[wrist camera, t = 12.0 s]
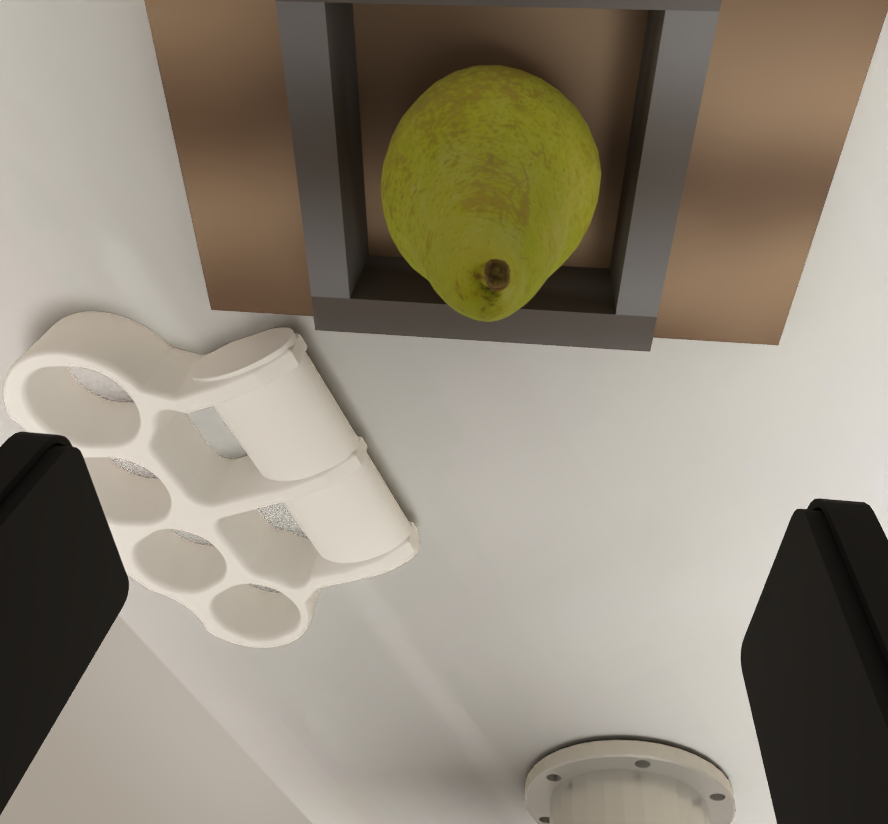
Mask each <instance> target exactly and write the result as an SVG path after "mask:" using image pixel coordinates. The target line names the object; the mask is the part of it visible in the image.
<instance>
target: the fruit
mask: <svg viewBox="0 0 888 824" xmlns="http://www.w3.org/2000/svg"><path fill="white" fill-rule="evenodd" d="M600 180H601V167H600V160H599V153H598V149H597V147H596V144H595V142H594V139H593V137H592V134H591V132H590V129H589V126H588V124H587V123H586V121H585V120H584V118H583V117H582V115H581V114H580V112H579V111H578V109H577V108H576V107H575V106H574V105H573V104H572V103H571V102H570V101H569V100H568V99H567V98H566V97H565V96H564V95H563V94H562V93H561V92H560V91H559V90H558V89H556V88H555V87H553V86H552V85H550V84H549V83H547V82H546V81H544V80H543V79H541V78H539V77H537V76H534V75H532V74H529V73H527V72H525V71H523V70H520V69H515V68H511V67H506V66H502V65H477V66H473V67H469V68H465V69H462V70H458V71H455V72H453V73H451V74H449V75H447V76H446V77H444V78H442V79H440V80H438V81H436V82H435V83H434V84H433V85H432V86H431V87H430V88H428V89H427V90H426V91H425V92H424V93H423V94H422V95H421V96H420V97H419V98H418V99H417V100H416V101H415V102H414V104H413V105H412V106H411V107H410V108H409V109H408V111H407V112H406V113H405V114H404V115H403V116H402V118H401V120H400V122H399V124H398V125H397V127H396V129H395V131H394V133H393V135H392V137H391V141H390V144H389V147H388V150H387V153H386V157H385V160H384V163H383V169H382V177H381V198H382V206H383V213H384V217H385V220H386V223H387V227H388V230H389V233H390V235H391V237H392V239H393V241H394V243H395V245H396V246H397V248H398V250H399V252H400V253H401V255H402V256H403V257H404V258H405V260H406V261H407V262H408V263H409V265H410V266H411V267H412V268H413V269H414V270H415V271H417V272H418V273H419V274H421V275H422V276H423V277H424V278H426V279H427V280H428V281H429V282H430V283H431V285H432V287H433V289H434V290H435V291H436V292H437V294H438V295H439V296H440V297H441V298H442V299H443V300H444V301H445V302H446V303H447V304H448V305H449V306H450V307H451V308H453V309H454V310H455V311H457V312H458V313H460V314H462V315H464V316H466V317H469V318H471V319H474V320H478V321H485V322H492V321H498V320H501V319H503V318H506V317H508V316H510V315H511V314H513V313H514V312H516V311H517V310H519V309H520V308H521V307H523V306H524V305H525V304H526V303H527V302H529V301H530V300H531V299H532V298H533V297H534V295H535V294H536V293H537V292H538V291H539V289H540V288H541V287H542V285H543V284H544V283H545V281H546V280H547V278H549V277H550V276H551V275H552V274H553V273H554V272H555V271H556V270H557V269H558V268H559V267H560V266H561V265H562V264H563V263H564V262H565V261H566V260H567V259H568V258H569V257H570V255H571V254H572V253H573V252H574V251H575V250H576V249H577V247H578V246H579V244H580V242H581V240H582V238H583V237H584V235H585V233H586V231H587V229H588V227H589V225H590V223H591V220H592V217H593V214H594V211H595V208H596V205H597V202H598V196H599V189H600Z"/></svg>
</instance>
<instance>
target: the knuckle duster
mask: <svg viewBox="0 0 888 824" xmlns="http://www.w3.org/2000/svg"><path fill="white" fill-rule="evenodd" d="M306 350H307V345H306V343H305V342H304V340H303V338H302V337H301V335H300V334H295V333H294V332H293V330H292V329H291V328H272V329H269V330H266V331H263V332H260V333H257V334H254V335H251V336H248V337H245V338H242V339H239V340H236V341H233V342H230V343H228V344H226V345H225V346H223V347H221V348H219V349H217V350H215V351H214V352H211V353H208V354H205V355H200V354H196V353H192V352H188V351H184V350H180V349H176V348H173V347H171V346H170V345H169V344H168V343H166V342H165V341H164V340H163V339H162V338H161V337H159V336H158V335H157V334H156V333H154V332H153V331H151V330H150V329H148V328H146V327H145V326H143V325H141V324H139V323H137V322H135V321H133V320H131V319H128V318H125V317H123V316H119V315H116V314H112V313H107V312H98V311H86V312H79V313H74V314H71V315H68V316H66V317H64V318H62V319H60V320H59V321H58V322H56V323H55V324H54V325H53V326H52V327H51V328H50V329H49V330H48V331H47V332H46V333H45V334H44V335H43V336H42V337H41V338H40V339H39V340H37V341H36V342H35V343H34V344H33V345H32V346H31V347H30V348H29V349H28V350H27V351H26V352H25V353H24V354H23V355H22V356H21V357H20V358H19V359H18V360H17V361H16V362H15V363H14V364H13V365H12V366H11V368H10V369H9V371H8V373H7V375H6V378H5V381H4V386H3V398H4V404H5V407H6V410H7V413H8V415H9V417H10V418H11V419H13V420H14V421H15V422H17V423H18V424H19V425H20V426H22V427H23V428H24V429H25V430H26V431H27V432H32V433H43V434H55V435H62V436H65V437H66V438H67V439H69V441H70V443H71V444H72V446H73V447H77V448H78V449H79V450H80V451H81V453H82V455H83V457H84V460H85V463H86V465H87V468H88V471H89V474H90V476H91V479H92V482H93V484H94V487H95V490H96V492H97V495H98V498H99V501H100V503H101V506H102V509H103V511H104V514H105V517H106V520H107V522H108V525H109V528H110V530H111V533H112V536H113V539H114V541H115V544H116V547H117V549H118V552H119V555H120V558H121V560H122V563H123V566H124V568H125V571H126V574H128V575H129V576H131V577H132V578H133V579H135V580H136V581H137V582H139V583H140V584H142V585H143V586H144V587H146V588H147V589H149V590H150V591H154V592H157V593H160V594H162V595H165V596H167V597H169V598H172V599H173V600H175V601H177V602H179V603H181V604H182V605H184V606H185V607H187V608H188V609H189V610H190V611H192V612H193V613H194V614H195V615H196V616H197V617H198V618H199V619H200V620H201V622H202V623H203V625H204V626H205V628H206V630H207V632H209V633H210V634H212V635H214V636H216V637H218V638H220V639H223V640H225V641H228V642H231V643H234V644H238V645H242V646H247V647H256V648H271V647H278V646H282V645H286V644H289V643H291V642H293V641H295V640H296V639H298V638H299V637H300V636H302V635H303V634H304V632H305V631H306V630H307V628H308V626H309V624H310V622H311V619H312V616H313V612H314V609H315V606H316V603H317V599H318V596H319V593H320V590H321V587H327V586H332V585H337V584H342V583H347V582H352V581H355V580H358V579H361V578H368V577H373V576H377V575H380V574H383V573H386V572H389V571H391V570H393V569H395V568H397V567H399V566H401V565H403V564H404V563H406V562H407V561H409V560H410V559H412V558H413V557H414V556H415V555H416V553H417V552H418V550H419V548H420V540H419V538H418V536H417V535H418V529H417V528H416V526H415V524H414V523H413V522H411V521H408V520H407V518H406V517H405V515H404V513H403V512H402V510H401V508H400V507H399V505H398V503H397V502H396V500H395V498H394V497H393V495H392V493H391V492H390V490H389V488H388V487H387V485H386V483H385V482H384V480H383V478H382V477H381V475H380V474H379V472H378V470H377V469H376V467H375V465H374V464H373V462H372V460H371V459H370V457H369V455H368V454H367V452H366V451H367V447H368V446H367V445H366V443H365V441H364V440H363V438H362V437H360V436H357V435H356V434H355V432H354V431H353V429H352V427H351V426H350V424H349V422H348V421H347V419H346V417H345V416H344V414H343V412H342V411H341V409H340V407H339V406H338V404H337V402H336V401H335V399H334V397H333V396H332V394H331V393H330V391H329V389H328V388H327V386H326V384H325V383H324V381H323V379H322V378H321V376H320V374H319V373H318V371H317V369H316V368H315V366H314V365H313V363H312V361H311V360H310V358H309V356H308V355H307V353H306ZM67 366H77V367H84V368H88V369H91V370H94V371H97V372H99V373H101V374H103V375H105V376H107V377H109V378H110V379H112V380H113V381H115V382H116V383H117V384H119V385H120V386H121V387H122V388H123V389H124V390H125V391H126V392H127V393H128V394H129V395H130V397H131V398H132V399H133V401H134V402H115V401H110V400H107V399H104V398H101V397H99V396H97V395H95V394H93V393H92V392H90V391H89V390H87V389H86V388H84V387H83V386H82V385H81V384H80V383H79V382H78V381H77V380H76V379H75V378H74V377H73V375H72V374H71V372H70V371H69V369H68V367H67ZM211 406H213V408H214V409H215V410H216V412H217V413H218V414H219V416H220V417H221V419H222V420H223V421H224V423H225V424H226V426H227V427H228V428H229V430H230V431H231V432H232V434H233V435H234V437H235V438H236V439H237V441H238V442H239V443H240V445H241V446H242V448H243V449H244V450H245V452H246V453H247V455H248V456H245V457H241V458H237V459H228V458H224V457H222V456H220V455H218V454H217V453H215V452H214V451H213V450H212V448H211V447H210V446H209V444H208V443H207V442H206V441H205V439H204V438H203V437H202V435H201V434H200V433H199V431H198V430H197V429H196V427H195V426H194V425H193V423H192V422H191V421H190V419H189V418H188V417H187V415H186V414H185V413H187V414H188V413H191V412H194V411H198V410H201V409H204V408H208V407H211ZM109 457H114V458H120V459H125V460H128V461H131V462H134V463H136V464H138V465H140V466H142V467H144V468H146V469H147V470H149V471H150V472H152V473H153V474H154V475H155V476H157V477H158V478H146V477H141V476H137V475H134V474H132V473H129V472H127V471H125V470H124V469H122V468H120V467H119V466H118V465H116V464H115V463H114V462H113V461H112V460H111V459H110V458H109ZM279 503H283V504H284V505H285V507H286V508H287V510H288V511H289V512H290V514H291V515H292V516H293V518H294V519H295V521H296V522H297V523H298V525H299V526H300V527H301V529H302V530H303V532H304V533H305V534H306V536H307V537H308V538H309V539H305V538H302V537H300V536H298V535H296V534H294V533H291V532H288V531H285V530H281V529H277V528H274V527H272V526H271V525H269V524H268V523H267V521H266V520H265V519H264V517H263V516H262V515H261V513H260V512H259V511H258V509H259V508H262V507H266V506H270V505H274V504H279ZM171 529H177V530H182V531H186V532H190V533H193V534H195V535H198V536H200V537H202V538H203V539H205V540H207V541H208V542H210V543H211V544H212V545H201V544H197V543H193V542H190V541H188V540H186V539H184V538H182V537H180V536H179V535H177V534H176V533H174V532H173V531H172V530H171ZM250 584H257V585H262V586H266V587H269V588H272V589H275V590H277V591H279V592H269V591H264V590H261V589H258V588H256V587H254V586H252V585H250Z"/></svg>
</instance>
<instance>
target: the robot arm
mask: <svg viewBox="0 0 888 824" xmlns="http://www.w3.org/2000/svg"><path fill="white" fill-rule="evenodd" d="M128 590H129V581H128V576H127V574H126V571H125V568H124V566H123V563H122V560H121V558H120V555H119V552H118V549H117V547H116V544H115V541H114V539H113V536H112V533H111V530H110V528H109V525H108V522H107V520H106V517H105V514H104V511H103V509H102V506H101V503H100V501H99V498H98V495H97V492H96V490H95V487H94V484H93V482H92V479H91V476H90V474H89V471H88V468H87V465H86V463H85V460H84V457H83V455H82V453H81V451H80V450H79V449H78V448H77V447H73V446H72V444H71V443H70V441H69V439H67V438H66V437H65V436H62V435H55V434H43V433H32V432H19V433H15V434H14V435H12V436H11V437H10V438H8V439H7V441H6V442H5V443H4V444H3V445H2V446H1V447H0V815H1V813H2V811H3V810H4V808H5V806H6V804H7V803H8V801H9V799H10V798H11V796H12V794H13V793H14V791H15V789H16V788H17V786H18V784H19V782H20V781H21V779H22V777H23V776H24V774H25V772H26V771H27V769H28V767H29V765H30V763H31V762H32V760H33V758H34V757H35V755H36V754H37V752H38V750H39V748H40V747H41V745H42V743H43V741H44V740H45V738H46V737H47V735H48V733H49V731H50V730H51V728H52V726H53V725H54V723H55V721H56V719H57V717H58V716H59V714H60V713H61V711H62V709H63V708H64V706H65V704H66V703H67V701H68V699H69V697H70V696H71V694H72V692H73V691H74V689H75V687H76V685H77V684H78V682H79V680H80V678H81V677H82V675H83V674H84V672H85V670H86V668H87V667H88V665H89V663H90V662H91V660H92V658H93V657H94V655H95V653H96V651H97V650H98V648H99V646H100V645H101V643H102V641H103V639H104V638H105V636H106V634H107V633H108V631H109V629H110V627H111V626H112V624H113V623H114V621H115V619H116V617H117V616H118V614H119V612H120V611H121V609H122V607H123V605H124V603H125V601H126V598H127V595H128ZM741 667H742V673H743V677H744V681H745V686H746V690H747V694H748V699H749V703H750V707H751V712H752V716H753V720H754V725H755V729H756V733H757V738H758V742H759V746H760V751H761V755H762V759H763V764H764V768H765V772H766V777H767V781H768V786H769V790H770V794H771V799H772V803H773V807H774V812H775V816H776V820H777V824H888V539H887V537H886V535H885V533H884V531H883V529H882V527H881V525H880V523H879V521H878V519H877V517H876V515H875V513H874V511H873V510H872V508H871V507H870V505H868V504H866V503H865V502H853V501H841V500H829V499H814V500H813V501H812V502H811V503H810V505H809V506H808V508H807V509H797V510H796V511H795V512H794V513H793V515H792V517H791V520H790V522H789V525H788V527H787V530H786V532H785V535H784V537H783V540H782V543H781V545H780V548H779V550H778V553H777V555H776V558H775V560H774V563H773V566H772V568H771V571H770V573H769V576H768V578H767V581H766V583H765V586H764V588H763V591H762V594H761V596H760V599H759V601H758V604H757V606H756V609H755V611H754V614H753V617H752V619H751V622H750V624H749V627H748V629H747V632H746V634H745V637H744V639H743V643H742V648H741ZM525 803H526V807H527V810H528V811H529V813H530V814H531V816H532V818H533V819H534V820H535V821H537V822H538V823H539V824H730V823H731V822H732V821H733V818H734V815H735V811H736V809H735V801H734V795H733V791H732V787H731V784H730V782H729V781H728V779H727V778H726V777H725V775H724V774H723V773H722V772H721V771H720V770H719V769H717V768H716V767H715V766H714V765H712V764H711V763H710V762H708V761H706V760H704V759H702V758H701V757H699V756H697V755H695V754H692V753H690V752H687V751H684V750H682V749H679V748H676V747H672V746H668V745H664V744H659V743H653V742H646V741H638V740H602V741H593V742H587V743H581V744H576V745H573V746H570V747H566V748H563V749H560V750H558V751H556V752H554V753H552V754H550V755H547V756H546V757H545V758H543V759H542V760H541V761H539V762H538V763H537V764H535V765H534V767H533V768H532V769H531V770H530V772H529V773H528V776H527V779H526V781H525Z"/></svg>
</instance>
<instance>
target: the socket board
mask: <svg viewBox="0 0 888 824" xmlns="http://www.w3.org/2000/svg"><path fill="white" fill-rule="evenodd" d="M145 5H146V10H147V14H148V19H149V24H150V28H151V33H152V37H153V42H154V47H155V51H156V56H157V60H158V65H159V70H160V74H161V79H162V84H163V88H164V93H165V97H166V102H167V107H168V111H169V116H170V121H171V125H172V130H173V134H174V139H175V144H176V148H177V153H178V158H179V162H180V167H181V171H182V176H183V181H184V185H185V190H186V195H187V199H188V204H189V208H190V213H191V218H192V222H193V227H194V232H195V236H196V241H197V245H198V250H199V255H200V259H201V264H202V269H203V273H204V278H205V282H206V287H207V292H208V296H209V301H210V306H211V310H224V311H240V312H256V313H272V314H288V315H304V316H314V323H315V330H324V331H339V332H355V333H370V334H386V335H401V336H417V337H432V338H448V339H463V340H479V341H495V342H510V343H526V344H541V345H557V346H572V347H588V348H603V349H619V350H635V351H650V349H651V344H652V339H653V337H655V338H671V339H687V340H703V341H719V342H735V343H751V344H767V345H778V344H779V341H780V338H781V335H782V332H783V329H784V326H785V323H786V320H787V317H788V314H789V310H790V307H791V304H792V301H793V298H794V295H795V292H796V289H797V286H798V283H799V280H800V277H801V274H802V271H803V268H804V265H805V262H806V259H807V255H808V252H809V249H810V246H811V243H812V240H813V237H814V234H815V231H816V228H817V225H818V222H819V219H820V216H821V213H822V210H823V207H824V204H825V200H826V197H827V194H828V191H829V188H830V185H831V182H832V179H833V176H834V173H835V170H836V167H837V164H838V161H839V158H840V155H841V152H842V149H843V145H844V142H845V139H846V136H847V133H848V130H849V127H850V124H851V121H852V118H853V115H854V112H855V109H856V106H857V103H858V100H859V97H860V94H861V90H862V87H863V84H864V81H865V78H866V75H867V72H868V69H869V66H870V63H871V60H872V57H873V54H874V51H875V48H876V45H877V42H878V39H879V35H880V32H881V29H882V26H883V23H884V20H885V17H886V14H887V11H888V0H145ZM477 65H502V66H506V67H511V68H515V69H520V70H523V71H525V72H527V73H529V74H532V75H534V76H537V77H539V78H541V79H543V80H544V81H546V82H547V83H549V84H550V85H552V86H553V87H555V88H556V89H558V90H559V91H560V92H561V93H562V94H563V95H564V96H565V97H566V98H567V99H568V100H569V101H570V102H571V103H572V104H573V105H574V106H575V107H576V108H577V109H578V111H579V112H580V114H581V115H582V117H583V118H584V120H585V121H586V123H587V124H588V126H589V129H590V132H591V134H592V137H593V139H594V142H595V144H596V147H597V149H598V153H599V160H600V167H601V180H600V189H599V196H598V202H597V205H596V208H595V211H594V214H593V217H592V220H591V223H590V225H589V227H588V229H587V231H586V233H585V235H584V237H583V238H582V240H581V242H580V244H579V246H578V247H577V249H576V250H575V251H574V252H573V253H572V254H571V255H570V257H569V258H568V259H567V260H566V261H565V262H564V263H563V264H562V265H561V266H560V267H559V268H558V269H557V270H556V271H555V272H554V273H553V274H552V275H551V276H550V277H549V278H547V280H546V281H545V283H544V284H543V285H542V287H541V288H540V289H539V291H538V292H537V293H536V294H535V295H534V297H533V298H532V299H531V300H530V301H529V302H527V303H526V304H525V305H524V306H523V307H521V308H520V309H519V310H517V311H516V312H514V313H513V314H511V315H510V316H508V317H506V318H503V319H501V320H498V321H492V322H485V321H478V320H474V319H471V318H469V317H466V316H464V315H462V314H460V313H458V312H457V311H455V310H454V309H453V308H451V307H450V306H449V305H448V304H447V303H446V302H445V301H444V300H443V299H442V298H441V297H440V296H439V295H438V294H437V292H436V291H435V290H434V289H433V287H432V285H431V283H430V282H429V281H428V280H427V279H426V278H424V277H423V276H422V275H421V274H419V273H418V272H417V271H415V270H414V269H413V268H412V267H411V266H410V265H409V263H408V262H407V261H406V260H405V258H404V257H403V256H402V255H401V253H400V252H399V250H398V248H397V246H396V245H395V243H394V241H393V239H392V237H391V235H390V233H389V230H388V227H387V223H386V220H385V217H384V213H383V206H382V198H381V177H382V169H383V163H384V160H385V157H386V153H387V150H388V147H389V144H390V141H391V137H392V135H393V133H394V131H395V129H396V127H397V125H398V124H399V122H400V120H401V118H402V116H403V115H404V114H405V113H406V112H407V111H408V109H409V108H410V107H411V106H412V105H413V104H414V102H415V101H416V100H417V99H418V98H419V97H420V96H421V95H422V94H423V93H424V92H425V91H426V90H427V89H428V88H430V87H431V86H432V85H433V84H434V83H435V82H436V81H438V80H440V79H442V78H444V77H446V76H447V75H449V74H451V73H453V72H455V71H458V70H462V69H465V68H469V67H473V66H477Z"/></svg>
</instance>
